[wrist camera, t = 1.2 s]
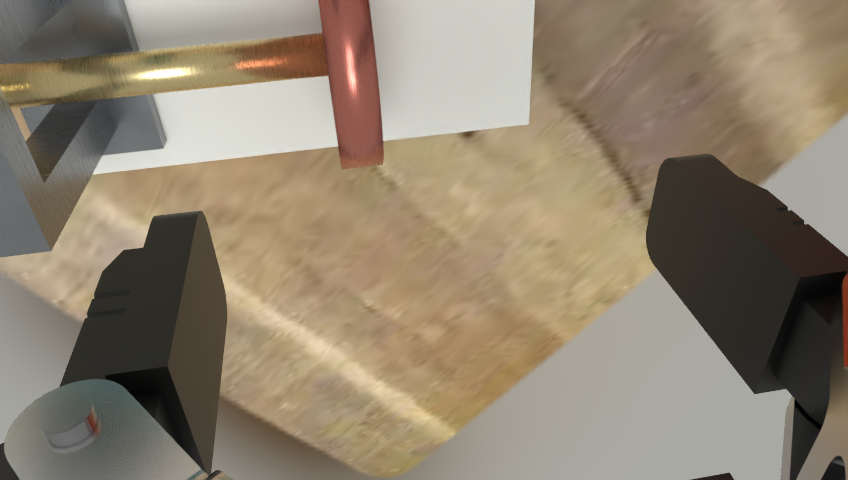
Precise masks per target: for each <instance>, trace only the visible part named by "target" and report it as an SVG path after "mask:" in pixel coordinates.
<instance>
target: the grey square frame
mask: <svg viewBox="0 0 848 480" xmlns="http://www.w3.org/2000/svg"><path fill="white" fill-rule="evenodd" d="M132 51H139V48H138V45H137V41H136V38H135V35H134V31H133V28H132V25H131V22H130V18H129V15H128V12H127V9H126V5H125V2H124V0H0V65H1V64H8V63H19V62H29V61H39V60H49V59H60V58H70V57H80V56H91V55H101V54H111V53H121V52H132ZM20 110H21V112H22V114H23V116H24V119H25V121H26V123H27V126H28V128H29V130H30V132H31V136H30V137H29V138H28V139H27V141H26V142H25V140H24V137H23V135H22V133H21V131H20V128H19V126H18V124H17V122H16V119H15V117H14V115H13V113H12V110H11V108H10V106H9V104H8V102H7V99H6V97H5V95H4V93H3V90H2V88H1V86H0V257H7V256H15V255H23V254H30V253H38V252H46V251H51V250H52V248H53V246H54V245H55V243H56V241H57V239H58V237H59V235H60V233H61V232H62V230H63V228H64V226H65V224H66V222H67V220H68V219H69V217H70V215H71V213H72V211H73V209H74V207H75V206H76V204H77V202H78V200H79V198H80V196H81V194H82V193H83V191H84V189H85V187H86V185H87V183H88V181H89V180H90V178H91V176H92V174H93V172H94V170H95V168H96V167H97V165H98V163H99V161H100V159H101V157H102V156H103V155H112V154H121V153H130V152H139V151H147V150H156V149H164V146H165V144H166V141H167V139H166V136H165V133H164V129H163V126H162V123H161V120H160V116H159V113H158V110H157V106H156V103H155V100H154V97H153V94H149V95H139V96H130V97H120V98H110V99H101V100H91V101H81V102H72V103H62V104H53V105H43V106H33V107H24V108H20Z"/></svg>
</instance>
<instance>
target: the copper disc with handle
mask: <svg viewBox="0 0 848 480" xmlns="http://www.w3.org/2000/svg"><path fill="white" fill-rule="evenodd" d="M318 3H319V10H320V18H321V25H322V33H317V34H307V35H296V36H286V37H276V38H265V39H255V40H245V41H235V42H224V43H214V44H204V45H193V46H183V47H173V48H163V49H152V50H142V51H132V52H121V53H111V54H101V55H91V56H80V57H70V58H60V59H49V60H39V61H29V62H19V63H8V64H1V65H0V86H1V88H2V90H3V93H4V95H5V97H6V99H7V102H8V104H9V106H10V108H11V109H14V108H24V107H33V106H43V105H53V104H62V103H72V102H81V101H91V100H101V99H110V98H120V97H130V96H139V95H149V94H158V93H168V92H178V91H187V90H197V89H207V88H216V87H226V86H235V85H245V84H255V83H264V82H274V81H283V80H293V79H303V78H312V77H322V76H328V77H329V85H330V92H331V99H332V106H333V114H334V121H335V128H336V135H337V141H338V148H339V155H340V161H341V167H342V169H349V168H358V167H366V166H375V165H383V155H384V153H383V131H382V117H381V105H380V93H379V83H378V73H377V64H376V54H375V46H374V37H373V29H372V21H371V13H370V5H369V0H318Z"/></svg>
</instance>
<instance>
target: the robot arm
mask: <svg viewBox="0 0 848 480" xmlns="http://www.w3.org/2000/svg"><path fill="white" fill-rule="evenodd" d="M646 244H647V250H648V253H649V256H650V259H651V261H652V263H653V264H654V266H655V267H656V268H657V269H658V271H659V272H660V273H661V275H662V276H663V277H664V278H665V280H666V281H667V282H668V283H669V285H670V286H671V287H672V289H673V290H674V291H675V292H676V294H677V295H678V296H679V298H680V299H681V300H682V301H683V303H684V304H685V305H686V306H687V308H688V309H689V310H690V312H691V313H692V314H693V315H694V317H695V318H696V319H697V321H698V322H699V323H700V325H701V326H702V327H703V328H704V330H705V331H706V332H707V334H708V335H709V336H710V337H711V339H712V340H713V341H714V342H715V344H716V345H717V346H718V348H719V349H720V350H721V352H722V353H723V354H724V355H725V356H726V358H727V359H728V361H729V362H730V363H731V364H732V366H733V367H734V368H735V369H736V371H737V372H738V373H739V375H740V376H741V377H742V378H743V380H744V381H745V382H746V384H747V385H748V386H749V387H750V389H751V390H752V391H753V393H754V394H758V393H764V392H770V391H776V390H781V389H787V390H788V391H789V392H790V394H791V395H792V397H791V399H790V402H789V404H788V406H787V409H786V415H785V428H784V441H783V455H782V468H781V480H848V257H847V256H846V255H845V254H844V253H842V252H841V251H840V250H839V249H838V248H836V247H835V246H834V245H833V244H832V243H830V242H829V241H828V240H827V239H826V238H824V237H823V236H822V235H821V234H819V233H818V232H817V231H816V230H815V229H814V228H812V227H811V226H810V225H808V224H807V225H805V224H804V220H803V219H801V218H800V217H799V216H798V215H797V214H795V213H794V212H793V211H792V210H791V211H788V207H787V206H786V205H785V204H783V203H782V202H781V201H780V200H779V199H777V198H776V197H775V196H774V195H773V194H771V193H770V192H769V191H768V190H766V189H763V188H761V187H759V186H757V185H755V184H753V183H751V182H749V181H746V180H744V179H742V178H740V177H738V176H737V175H735V174H734V173H733V172H732V171H731V170H730V169H728V168H727V167H726V166H725V165H724V164H723V163H721V162H720V161H719V160H718V159H717V158H715V157H714V156H713V155H710V154H701V155H693V156H684V157H675V158H668V159H666V160H665V161H664V162H663V163H662V164H661V166H660V169H659V172H658V177H657V182H656V187H655V192H654V196H653V201H652V206H651V211H650V216H649V221H648V226H647V231H646ZM94 297H95V299H92V301H91V304H90V307H89V309H88V312H87V318H85V320H84V323H83V325H82V328H81V331H80V333H79V336H78V339H77V341H76V344H75V347H74V349H73V352H72V355H71V357H70V360H69V363H68V365H67V368H66V371H65V374H64V376H63V379H62V382H61V384H60V387H59V388H56V389H54V390H52V391H50V392H48V393H46V394H45V395H43V396H42V397H40V398H38V399H37V400H35V401H34V402H33V403H32V404H30V405H29V406H28V407H27V408H26V409H25V410H24V411H23V412H22V413H21V414H20V415H19V416H18V417H17V418H16V420H15V421H14V422H13V424H12V425H11V427H10V429H9V430H8V433H7V436H6V439H5V442H4V443H2V444H0V480H232V479H231V478H230V477H229V476H228V475H227V474H225V473H223V472H222V471H219V470H217V471H215V472H213V473H212V474H211V468H212V458H213V448H214V439H215V429H216V420H217V410H218V401H219V391H220V382H221V372H222V363H223V353H224V344H225V334H226V325H227V304H226V295H225V289H224V285H223V281H222V277H221V273H220V269H219V265H218V262H217V258H216V254H215V250H214V247H213V243H212V239H211V235H210V231H209V228H208V224H207V221H206V218H205V215H204V214H203V212H202V211H194V212H185V213H176V214H168V215H159V216H154V217H153V219H152V221H151V224H150V228H149V231H148V234H147V237H146V241H145V244H144V247H143V248H138V249H130V250H123V251H122V252H121V253H120V254H119V255H118V256H117V257H116V258H115V259H114V260H113V261H112V262H111V263H110V265H109V266H108V267H107V268H106V269H105V270H104V271H103V272H102V274H101V277H100V280H99V282H98V285H97V288H96V290H95V293H94ZM692 480H734V479H733V478H732V476H731V474H730V473H725V474H720V475H714V476H709V477H703V478H698V479H692Z"/></svg>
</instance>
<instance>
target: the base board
mask: <svg viewBox="0 0 848 480" xmlns="http://www.w3.org/2000/svg"><path fill="white" fill-rule="evenodd" d="M124 2H125V5H126V9H127V12H128V15H129V18H130V22H131V25H132V28H133V31H134V35H135V38H136V41H137V45H138V48H139V51H142V50H152V49H163V48H173V47H183V46H193V45H204V44H214V43H224V42H235V41H245V40H255V39H265V38H276V37H286V36H296V35H307V34H317V33H322V25H321V18H320V10H319V3H318V0H124ZM369 5H370V13H371V21H372V29H373V37H374V46H375V54H376V64H377V73H378V83H379V93H380V105H381V117H382V131H383V141H388V140H397V139H405V138H414V137H423V136H431V135H440V134H449V133H458V132H466V131H475V130H484V129H492V128H501V127H510V126H518V125H527V124H529V110H530V89H531V69H532V48H533V27H534V7H535V0H369ZM153 97H154V100H155V103H156V106H157V110H158V113H159V116H160V120H161V123H162V126H163V129H164V133H165V136H166V139H167V141H166V144H165V146H164V149H156V150H147V151H139V152H130V153H121V154H112V155H103V156H102V157H101V159H100V161H99V163H98V165H97V167H96V168H95V170H94V172H93V174H101V173H109V172H118V171H127V170H136V169H144V168H153V167H162V166H170V165H179V164H188V163H196V162H205V161H214V160H223V159H231V158H240V157H249V156H257V155H266V154H275V153H284V152H292V151H301V150H310V149H318V148H327V147H336V146H338V141H337V135H336V128H335V121H334V114H333V106H332V99H331V92H330V85H329V77H328V76H322V77H312V78H303V79H293V80H283V81H274V82H264V83H255V84H245V85H235V86H226V87H216V88H207V89H197V90H187V91H178V92H168V93H158V94H153Z"/></svg>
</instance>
